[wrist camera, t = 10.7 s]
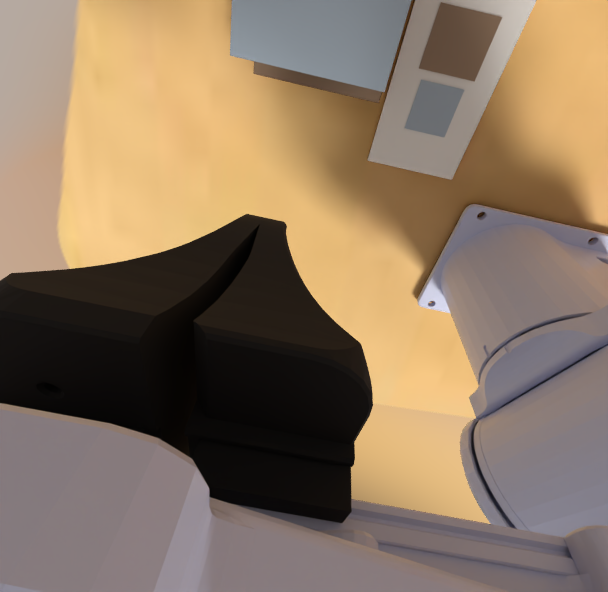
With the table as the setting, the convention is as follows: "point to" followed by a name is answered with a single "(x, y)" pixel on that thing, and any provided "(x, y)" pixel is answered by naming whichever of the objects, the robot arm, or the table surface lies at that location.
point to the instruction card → (445, 81)
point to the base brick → (316, 82)
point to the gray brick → (322, 37)
